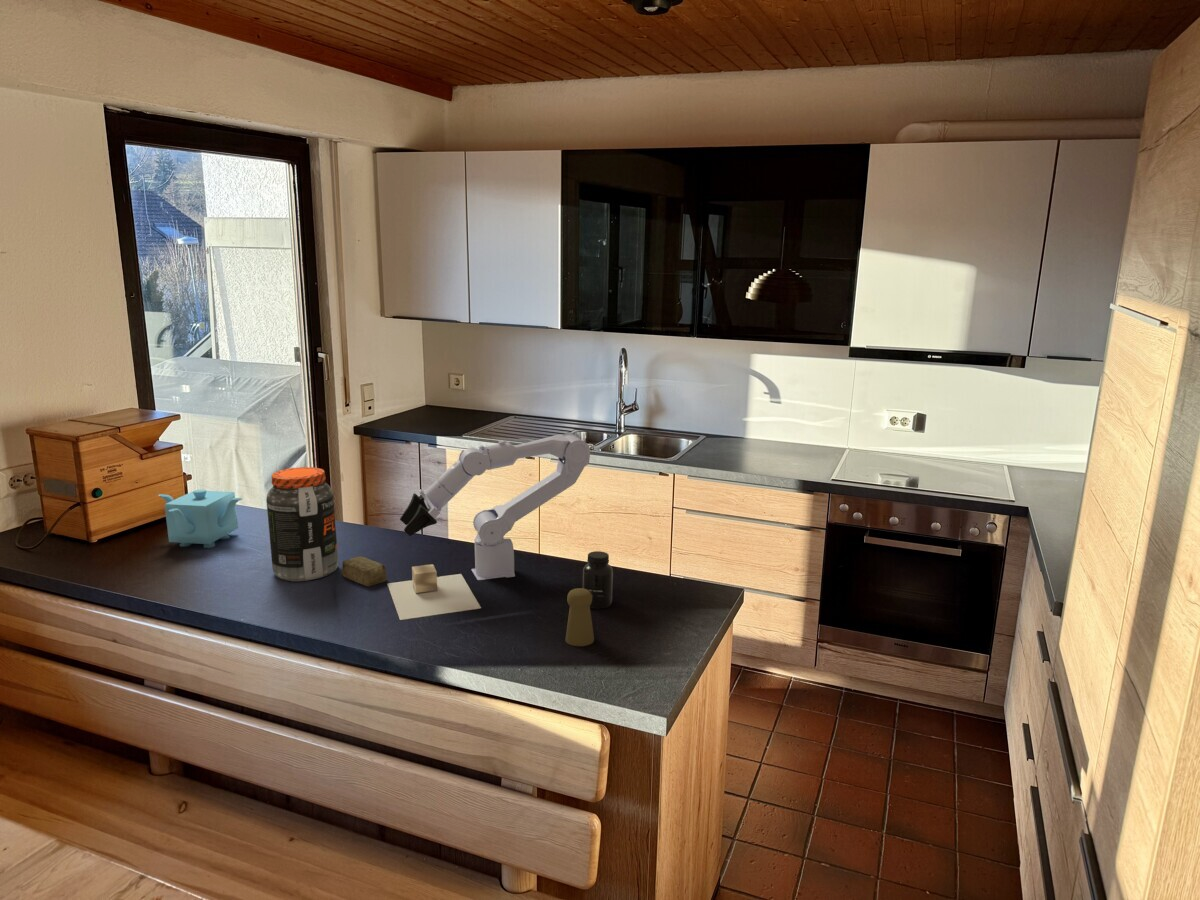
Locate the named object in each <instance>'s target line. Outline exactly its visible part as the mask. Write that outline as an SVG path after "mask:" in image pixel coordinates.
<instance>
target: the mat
mask: <svg viewBox="0 0 1200 900" xmlns="http://www.w3.org/2000/svg"><path fill="white" fill-rule="evenodd" d="M387 588H388V589H389V593H390V595H391V598H392V599H391V600H392V601H393V605H394V608H395V609H396V613H397V615H398V618H399V620H400V621H403V620H409V619H417V618H418V619H419V618H422V617H431V616H432V617H433V616H437V615H444V614H451V613H452V614H453V613H457V612H465V611H472V610H479V609H482V607H481V605H480V603H479V602H478V600H477V598H476V597H475V595H474V593H473V592H472V590H471V588H470V586H469V585H468V583H467V582H466V579H465V578H464V576H463V575H462V573H458V574H449V575H441V576H437V591H436V592H429V593H421V594H416V593H415V590H414V588H413V580H412V579H411V580H404V581H403V580H402V581H398V582H388V583H387Z"/></svg>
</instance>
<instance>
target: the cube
mask: <svg viewBox="0 0 1200 900" xmlns="http://www.w3.org/2000/svg"><path fill="white" fill-rule="evenodd" d="M411 573H412V574H411V577H412V578H411V580H413V588H414V590H415V593H416V594H421V593H429V592H436V591H437V577H438V574H437V573H438V572H437V570H436V568H435V565H434V564H424V565H415V566H411Z"/></svg>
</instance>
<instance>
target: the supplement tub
mask: <svg viewBox="0 0 1200 900" xmlns="http://www.w3.org/2000/svg"><path fill="white" fill-rule="evenodd" d="M270 481H271V484H272V486H271V488H270V489H269V490H268V492H267V495H266V499H265V500H266V511H267V521H268V522H267V523H268V534H269V535H268V536H269V544H270V553H271V556H270V557H271V568H272V571H273V572H272V573H274V575H275V577H278V578H279V579H281V580H283V581H289V582H304V581H305V582H306V581H313V580H316V579H320V578H323V577H326V576H329V575H331V574H332V573H334V572H335V571H336V570H337V568H338V566H339V554H338V553H339V552H338V551H339V550H338V540H337V539H338V538H337V529H336V528H337V527H336V524H337V523H336V514H335V499H334V498H335V497H334V492H333V489H332V488H331V486H330V485H329V484H328V483H327V482H326V474H325V470H324V469H323V468H319V467H311V466H300V467H298V466H297V467H290V468H285V469H281V470H278V471H277V470H276V471H275V472H273V473H272V474H271V480H270Z"/></svg>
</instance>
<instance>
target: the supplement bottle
mask: <svg viewBox="0 0 1200 900" xmlns="http://www.w3.org/2000/svg"><path fill="white" fill-rule="evenodd" d="M609 558H610V554H609V553H608V552H605V551H601V550H595V551H591V552H589V553H588V554H587V564H585V565H584V567H583V569H582V570H583V571H582V588H583V589H587V590H589V591H590V593H591V594H592V603H591V605H590V609H593V610H599V609H606V608H608V607H610V606H611V605H612V603H613V582H614V581H613V580H614V579H613V577H614V570H613V567H612V565H610V564H609V563H610V560H609Z"/></svg>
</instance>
